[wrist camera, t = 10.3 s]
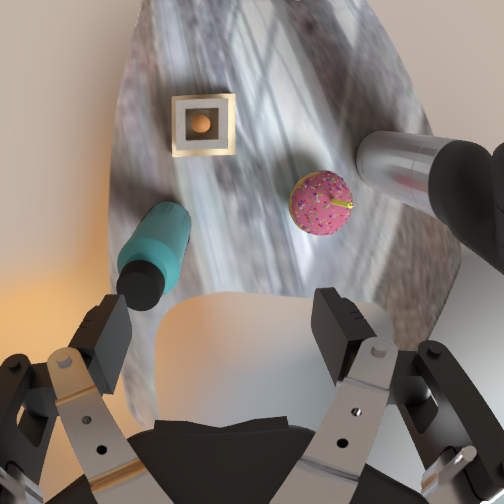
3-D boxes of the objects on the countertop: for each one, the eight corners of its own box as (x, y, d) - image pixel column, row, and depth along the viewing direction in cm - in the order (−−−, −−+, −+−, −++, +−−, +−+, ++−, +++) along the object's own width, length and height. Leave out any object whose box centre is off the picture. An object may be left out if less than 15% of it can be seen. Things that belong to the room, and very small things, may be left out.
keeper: (234, 95, 35) (237, 88, 29) (234, 153, 38) (237, 158, 32) (173, 98, 34) (164, 91, 28) (174, 155, 37) (165, 161, 31)
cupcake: (304, 155, 39) (335, 165, 28) (349, 187, 42) (391, 208, 31) (271, 206, 42) (290, 235, 31) (318, 234, 44) (349, 270, 33)
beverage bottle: (156, 191, 39) (105, 244, 21) (200, 206, 41) (185, 272, 22) (143, 233, 41) (94, 310, 23) (186, 247, 43) (165, 334, 24)
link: (227, 101, 34) (228, 98, 30) (227, 147, 36) (228, 148, 33) (179, 103, 33) (175, 100, 30) (180, 148, 35) (176, 150, 32)
